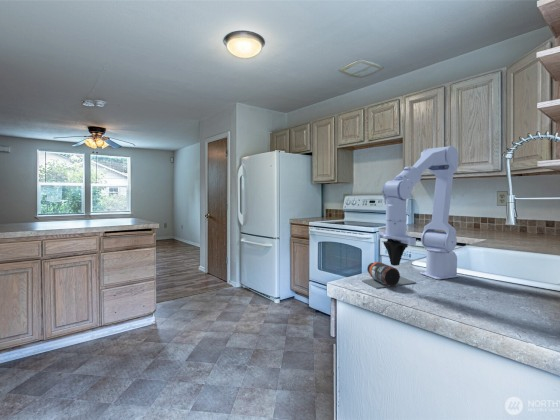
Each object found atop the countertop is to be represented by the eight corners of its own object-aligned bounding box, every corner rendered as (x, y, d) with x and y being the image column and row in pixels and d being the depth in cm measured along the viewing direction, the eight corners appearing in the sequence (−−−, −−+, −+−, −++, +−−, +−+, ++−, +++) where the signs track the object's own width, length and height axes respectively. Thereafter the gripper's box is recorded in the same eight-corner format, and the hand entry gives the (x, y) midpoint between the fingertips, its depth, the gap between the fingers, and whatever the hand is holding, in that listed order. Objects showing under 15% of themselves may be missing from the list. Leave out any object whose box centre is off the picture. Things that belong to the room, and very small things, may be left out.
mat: (398, 276, 108) (398, 275, 108) (415, 283, 100) (416, 282, 100) (361, 281, 103) (361, 280, 103) (376, 288, 96) (376, 287, 96)
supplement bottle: (403, 280, 97) (382, 271, 108) (396, 264, 96) (376, 256, 107) (388, 290, 96) (368, 279, 107) (381, 274, 95) (361, 265, 106)
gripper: (370, 218, 99) (369, 260, 100) (401, 223, 86) (400, 272, 87) (388, 217, 102) (387, 258, 103) (422, 222, 88) (421, 269, 89)
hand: (395, 264), depth 95 cm, fingers closed
